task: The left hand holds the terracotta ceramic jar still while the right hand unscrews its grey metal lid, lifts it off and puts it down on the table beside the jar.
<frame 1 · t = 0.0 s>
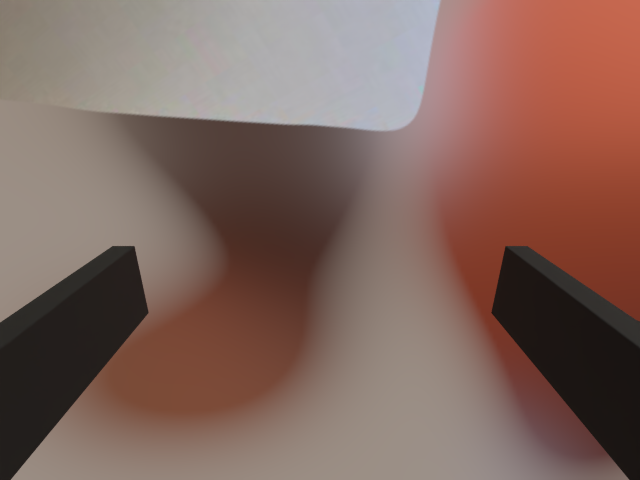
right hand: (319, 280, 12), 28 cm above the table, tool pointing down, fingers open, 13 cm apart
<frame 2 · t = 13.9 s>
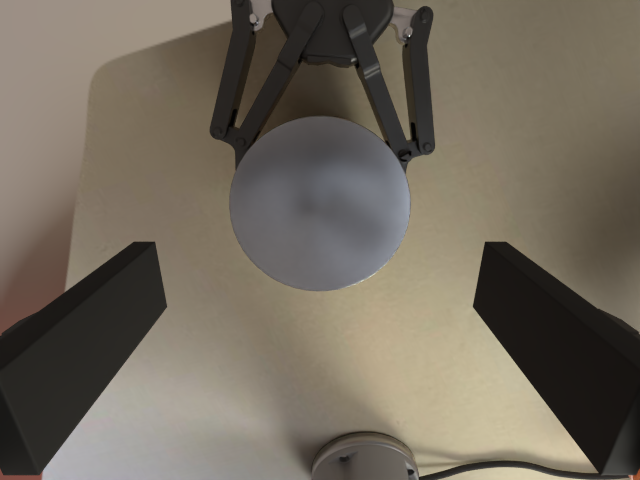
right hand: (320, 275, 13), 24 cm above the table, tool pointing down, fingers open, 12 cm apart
left hand: (316, 230, 30), fingers closed on jar, 10 cm apart
lid: (319, 210, 21), point 15 cm above the table, screwed on, not yet turned
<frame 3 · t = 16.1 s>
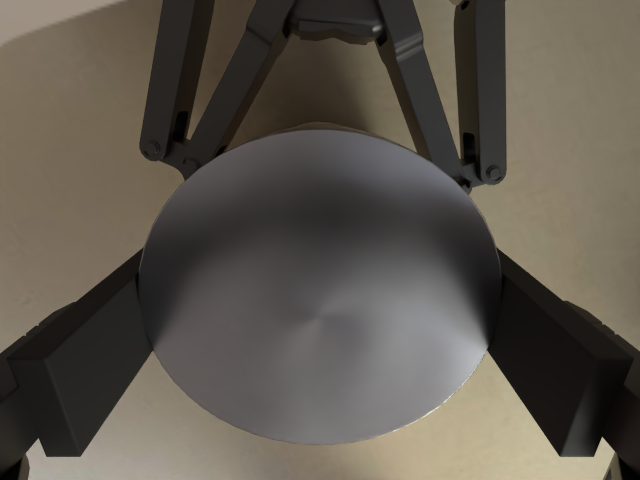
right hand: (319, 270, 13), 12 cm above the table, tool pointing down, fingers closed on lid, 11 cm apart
lid: (320, 310, 11), point 15 cm above the table, screwed on, not yet turned, touching right hand
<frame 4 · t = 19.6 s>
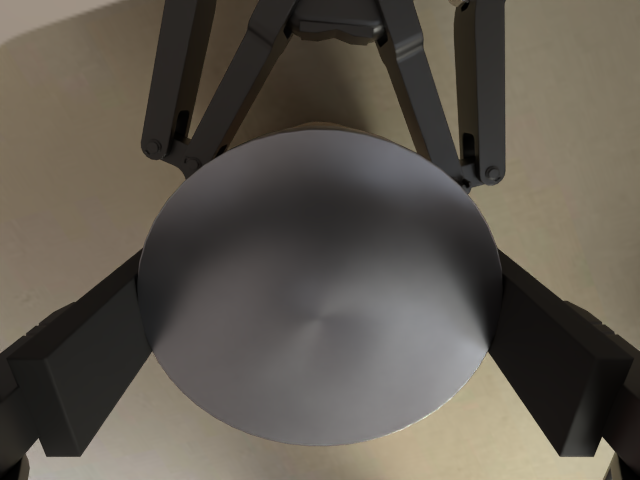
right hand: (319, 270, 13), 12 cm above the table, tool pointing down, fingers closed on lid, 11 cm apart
lid: (320, 311, 11), point 15 cm above the table, turned 111° so far, risen 0.2 cm, still on its thread, touching right hand
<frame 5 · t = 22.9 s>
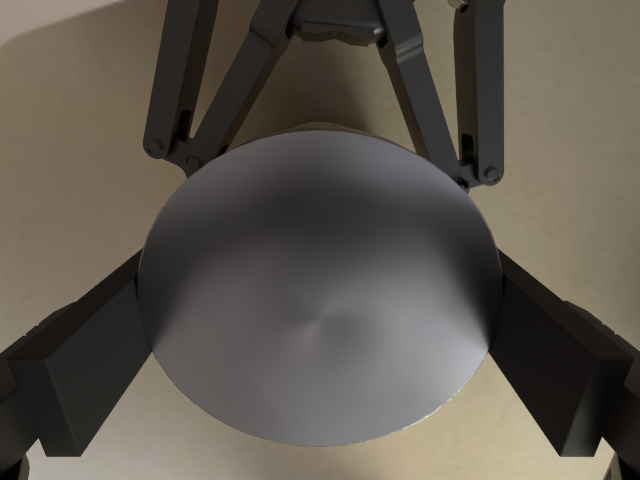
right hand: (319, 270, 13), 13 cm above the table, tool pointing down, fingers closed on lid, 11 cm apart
lid: (320, 312, 11), point 15 cm above the table, turned 221° so far, risen 0.3 cm, still on its thread, touching right hand
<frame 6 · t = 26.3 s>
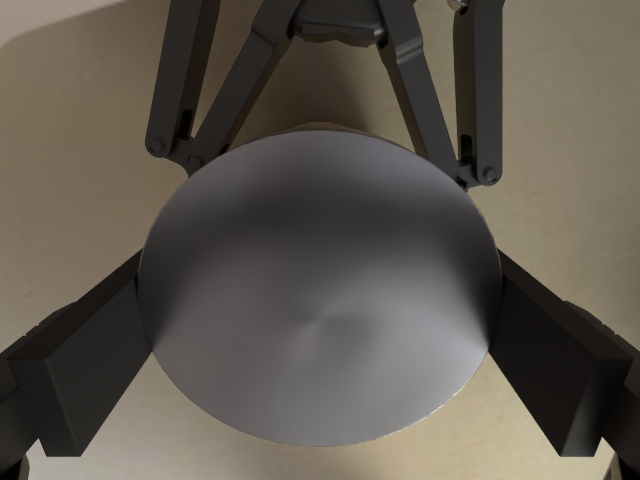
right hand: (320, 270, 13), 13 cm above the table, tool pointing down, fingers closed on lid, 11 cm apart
lid: (320, 312, 11), point 16 cm above the table, turned 332° so far, risen 0.5 cm, still on its thread, touching right hand
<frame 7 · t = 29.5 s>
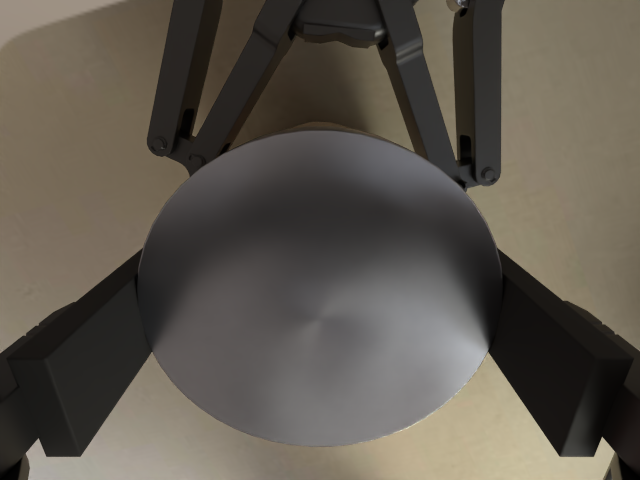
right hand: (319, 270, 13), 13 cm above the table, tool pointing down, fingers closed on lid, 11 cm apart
lid: (320, 312, 11), point 16 cm above the table, turned 443° so far, risen 0.7 cm, still on its thread, touching right hand
when the right hand's fingers open (0 cm above the table, at t = 35.6 s): lid drops 2 cm, point 1 cm above the table.
when the left hand's fingers open (7 cm above the table, at t = 36.7 s): jar stays where it is, on the table.
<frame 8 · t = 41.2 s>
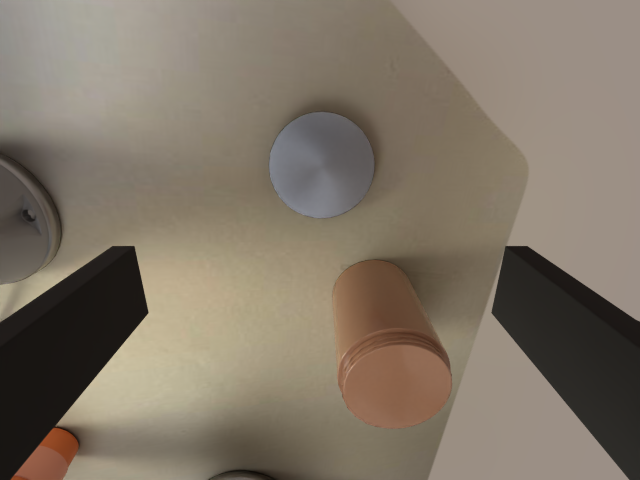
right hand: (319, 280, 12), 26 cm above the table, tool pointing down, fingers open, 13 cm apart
jar: (372, 295, 42), on the table
cup with straw: (59, 440, 51), on the table
lid: (321, 167, 35), point 1 cm above the table, off its thread
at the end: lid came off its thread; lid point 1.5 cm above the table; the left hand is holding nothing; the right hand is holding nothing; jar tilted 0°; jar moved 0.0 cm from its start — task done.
